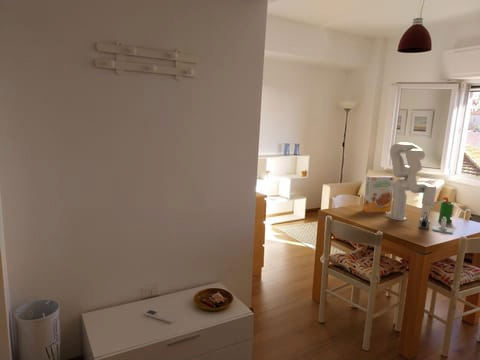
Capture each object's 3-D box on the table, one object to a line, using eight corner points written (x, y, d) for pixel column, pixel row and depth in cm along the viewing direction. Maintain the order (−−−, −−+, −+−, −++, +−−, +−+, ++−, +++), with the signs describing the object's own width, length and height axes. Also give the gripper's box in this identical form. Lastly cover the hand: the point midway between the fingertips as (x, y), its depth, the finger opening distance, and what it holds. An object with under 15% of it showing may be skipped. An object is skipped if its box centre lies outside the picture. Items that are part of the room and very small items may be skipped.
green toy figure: (453, 224, 261) (457, 199, 258) (441, 223, 263) (444, 198, 260) (448, 221, 271) (452, 196, 268) (436, 219, 273) (439, 195, 269)
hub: (418, 226, 249) (419, 220, 248) (419, 224, 255) (420, 218, 254) (428, 228, 246) (429, 222, 245) (429, 226, 251) (430, 220, 250)
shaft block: (432, 230, 244) (434, 217, 242) (433, 226, 254) (435, 214, 252) (451, 234, 238) (453, 220, 236) (452, 230, 247) (454, 217, 246)
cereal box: (367, 212, 289) (370, 177, 284) (362, 210, 295) (366, 176, 290) (390, 211, 295) (394, 177, 290) (385, 209, 301) (389, 175, 295)
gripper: (423, 198, 255) (419, 221, 259) (420, 203, 241) (416, 227, 245) (435, 200, 251) (431, 223, 255) (432, 205, 237) (428, 230, 241)
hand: (424, 225), depth 250 cm, fingers closed on hub, 6 cm apart
